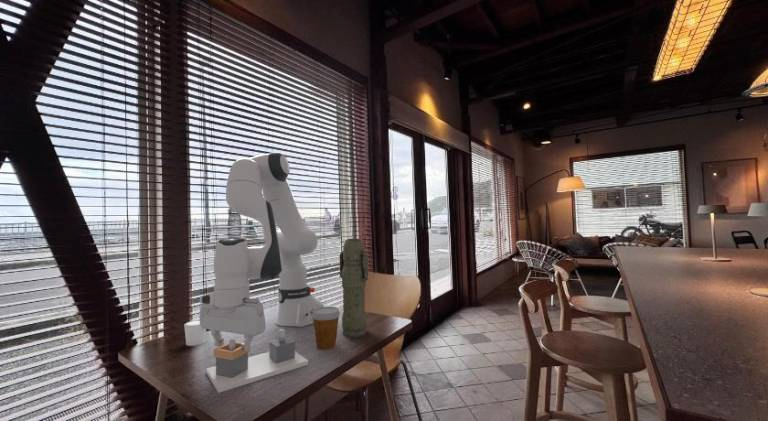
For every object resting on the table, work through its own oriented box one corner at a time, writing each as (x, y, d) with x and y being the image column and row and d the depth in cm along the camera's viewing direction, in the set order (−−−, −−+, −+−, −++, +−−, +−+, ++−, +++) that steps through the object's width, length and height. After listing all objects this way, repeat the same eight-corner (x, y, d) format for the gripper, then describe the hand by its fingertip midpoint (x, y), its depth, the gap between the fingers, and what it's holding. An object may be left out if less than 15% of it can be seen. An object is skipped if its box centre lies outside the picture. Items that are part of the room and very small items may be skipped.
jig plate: (288, 350, 107) (288, 319, 107) (308, 364, 96) (307, 330, 96) (206, 372, 92) (206, 336, 92) (218, 392, 81) (218, 351, 81)
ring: (232, 348, 94) (232, 341, 94) (250, 350, 92) (250, 343, 92) (213, 356, 88) (213, 349, 88) (232, 360, 86) (232, 352, 86)
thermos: (346, 327, 128) (345, 238, 129) (373, 331, 124) (372, 238, 125) (334, 335, 120) (333, 239, 121) (363, 339, 116) (362, 240, 117)
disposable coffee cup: (329, 338, 117) (329, 304, 117) (346, 346, 110) (345, 309, 110) (306, 346, 110) (305, 310, 110) (322, 354, 103) (321, 316, 104)
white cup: (196, 347, 111) (196, 326, 111) (179, 345, 112) (179, 325, 112) (211, 339, 117) (211, 320, 118) (194, 338, 119) (194, 319, 119)
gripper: (270, 296, 89) (270, 348, 89) (214, 291, 97) (214, 339, 96) (253, 302, 83) (254, 357, 83) (195, 296, 91) (195, 347, 90)
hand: (232, 347), depth 90 cm, fingers open, 8 cm apart
